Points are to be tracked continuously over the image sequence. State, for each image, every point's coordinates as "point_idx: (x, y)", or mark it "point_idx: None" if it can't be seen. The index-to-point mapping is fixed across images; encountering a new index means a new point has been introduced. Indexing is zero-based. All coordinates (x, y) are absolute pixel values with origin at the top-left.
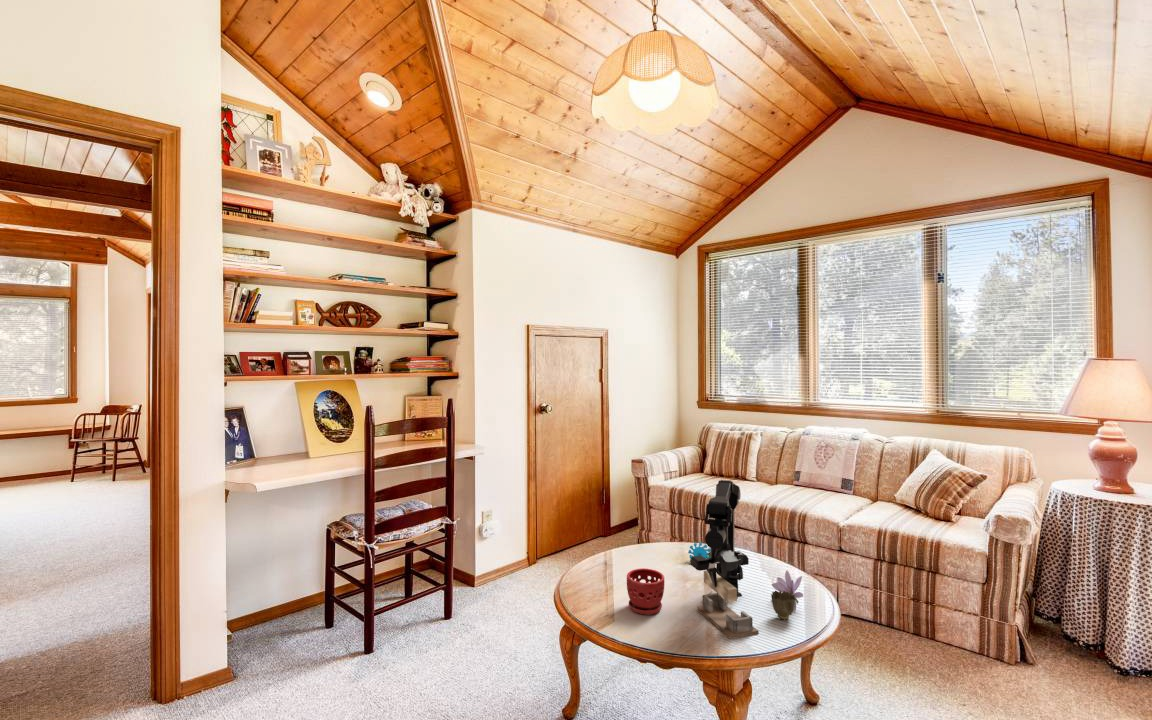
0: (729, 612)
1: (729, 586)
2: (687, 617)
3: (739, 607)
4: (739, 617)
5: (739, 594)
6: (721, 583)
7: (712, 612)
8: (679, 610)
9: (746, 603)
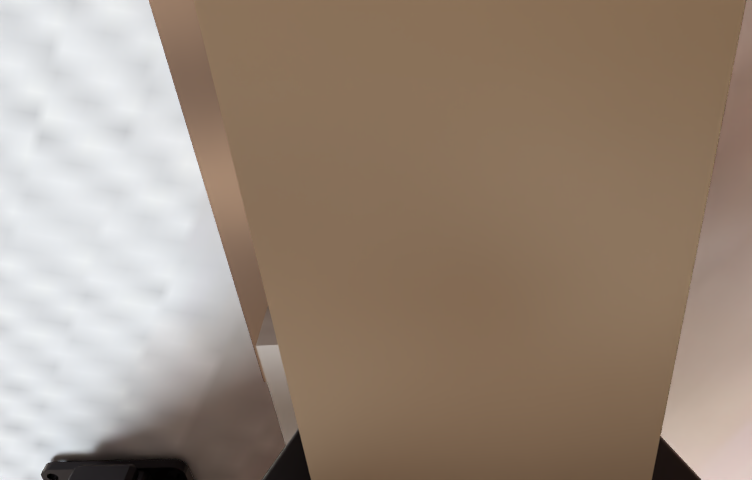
0: None
1: (441, 3)
2: (745, 241)
3: (120, 312)
4: (196, 78)
5: (61, 472)
6: (620, 365)
7: None
8: (719, 369)
9: (35, 359)
